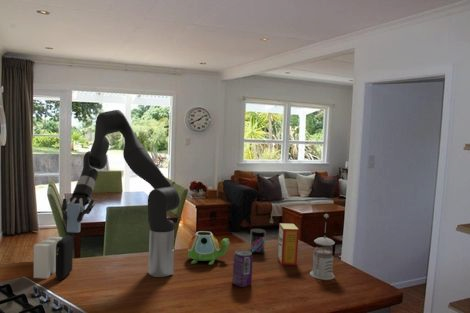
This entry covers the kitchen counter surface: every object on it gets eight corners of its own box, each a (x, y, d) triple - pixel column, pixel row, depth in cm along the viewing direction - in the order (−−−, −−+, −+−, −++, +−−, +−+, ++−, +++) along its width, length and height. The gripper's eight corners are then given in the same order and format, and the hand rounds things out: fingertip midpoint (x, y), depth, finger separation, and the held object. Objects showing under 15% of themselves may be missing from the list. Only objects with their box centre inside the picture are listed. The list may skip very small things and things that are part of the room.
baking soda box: (277, 257, 170) (279, 222, 169) (291, 257, 171) (293, 222, 170) (281, 264, 161) (283, 228, 160) (296, 265, 161) (298, 228, 160)
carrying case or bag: (61, 283, 132) (61, 242, 131) (52, 283, 132) (52, 242, 131) (73, 271, 143) (74, 233, 142) (65, 271, 143) (66, 233, 142)
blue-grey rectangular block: (69, 230, 162) (69, 203, 161) (80, 231, 162) (80, 203, 161) (66, 231, 160) (67, 204, 159) (78, 232, 160) (78, 204, 159)
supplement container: (246, 252, 174) (248, 230, 174) (255, 249, 180) (256, 227, 179) (259, 256, 170) (260, 233, 170) (267, 252, 176) (268, 230, 175)
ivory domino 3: (43, 270, 142) (43, 239, 141) (56, 271, 142) (56, 240, 141) (40, 272, 140) (40, 241, 139) (53, 273, 140) (54, 242, 139)
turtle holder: (231, 265, 158) (232, 237, 157) (188, 265, 155) (189, 237, 154) (226, 254, 170) (228, 229, 169) (186, 255, 167) (187, 229, 166)
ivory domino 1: (36, 275, 138) (36, 243, 137) (50, 276, 138) (50, 244, 137) (33, 277, 136) (33, 245, 135) (47, 278, 136) (47, 246, 135)
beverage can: (253, 282, 142) (255, 251, 141) (248, 289, 135) (249, 256, 134) (235, 278, 144) (237, 248, 143) (229, 285, 137) (231, 253, 136)
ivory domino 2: (49, 266, 147) (49, 236, 146) (61, 267, 147) (62, 237, 146) (46, 268, 145) (46, 237, 144) (59, 269, 145) (59, 238, 144)
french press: (339, 275, 152) (343, 214, 150) (324, 283, 144) (329, 218, 142) (317, 268, 159) (321, 210, 157) (302, 275, 150) (306, 213, 148)
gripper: (65, 182, 167) (51, 215, 156) (97, 184, 167) (86, 217, 156) (71, 192, 173) (58, 224, 162) (102, 193, 172) (91, 226, 161)
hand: (71, 220), depth 159 cm, fingers closed on blue-grey rectangular block, 5 cm apart
